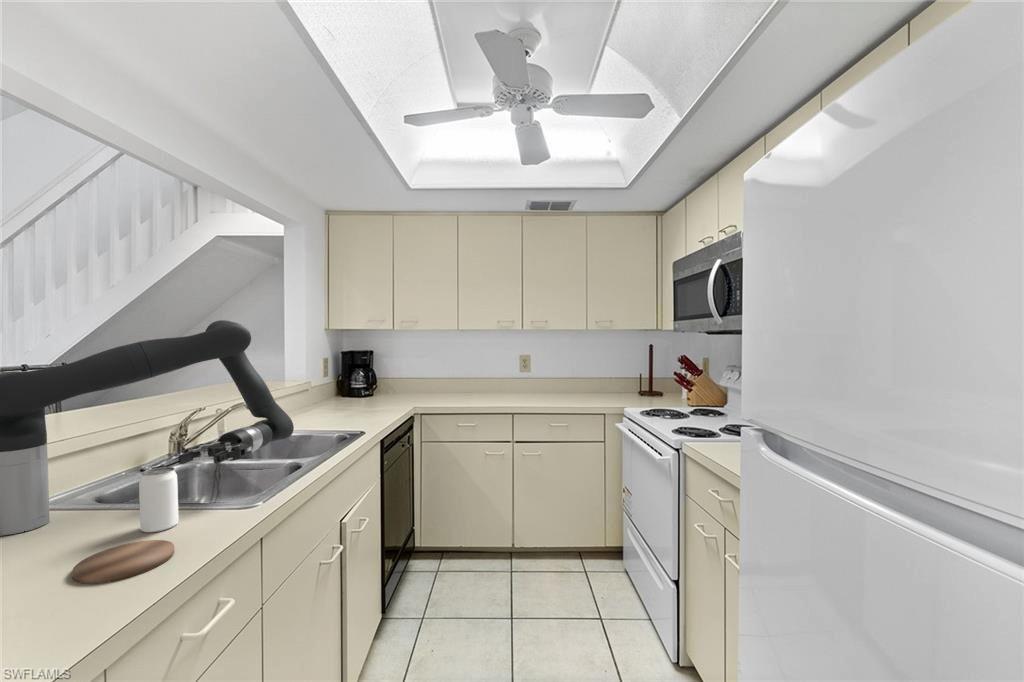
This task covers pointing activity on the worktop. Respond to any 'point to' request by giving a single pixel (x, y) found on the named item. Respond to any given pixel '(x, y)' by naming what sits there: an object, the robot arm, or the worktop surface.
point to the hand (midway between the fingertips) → (197, 459)
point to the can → (158, 499)
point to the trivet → (123, 561)
